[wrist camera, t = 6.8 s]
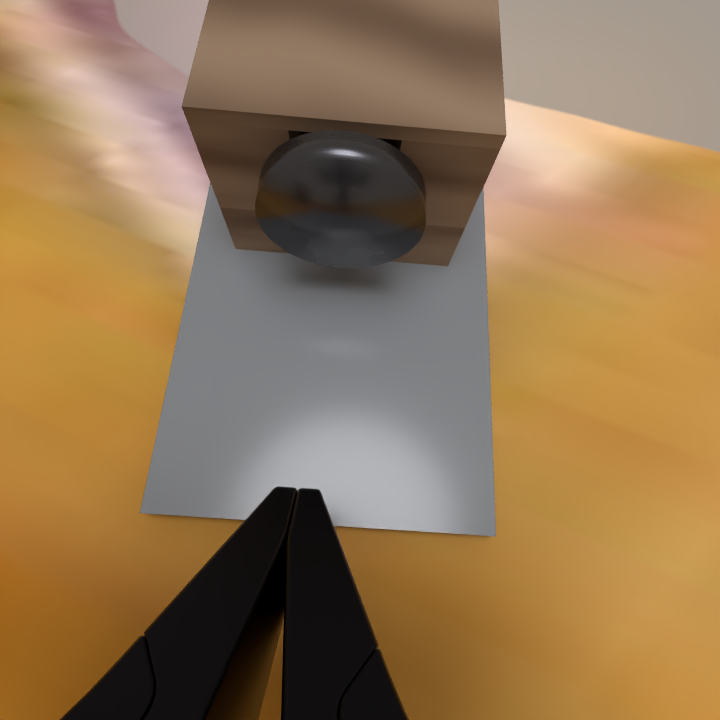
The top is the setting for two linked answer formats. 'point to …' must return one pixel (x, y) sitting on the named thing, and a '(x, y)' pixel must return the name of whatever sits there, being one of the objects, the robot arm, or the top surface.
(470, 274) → the slate board
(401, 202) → the plunger
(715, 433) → the top surface
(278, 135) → the press housing
